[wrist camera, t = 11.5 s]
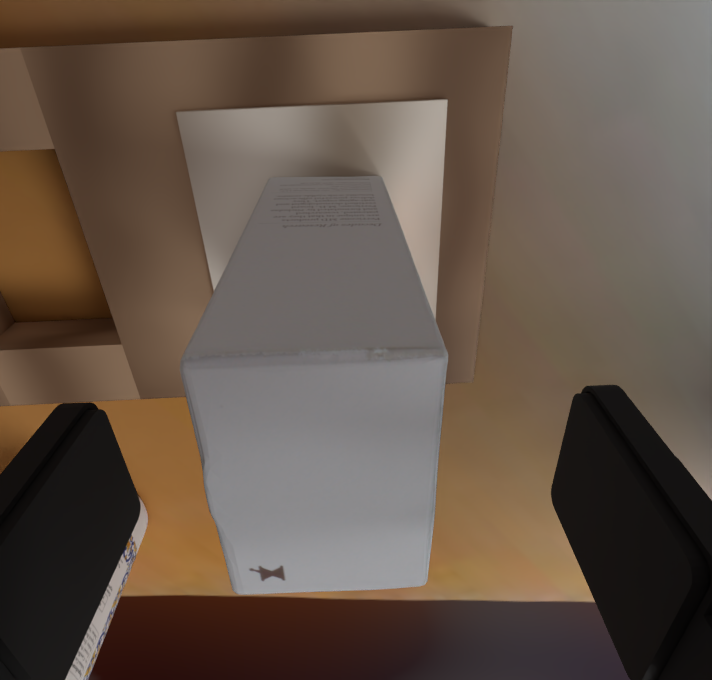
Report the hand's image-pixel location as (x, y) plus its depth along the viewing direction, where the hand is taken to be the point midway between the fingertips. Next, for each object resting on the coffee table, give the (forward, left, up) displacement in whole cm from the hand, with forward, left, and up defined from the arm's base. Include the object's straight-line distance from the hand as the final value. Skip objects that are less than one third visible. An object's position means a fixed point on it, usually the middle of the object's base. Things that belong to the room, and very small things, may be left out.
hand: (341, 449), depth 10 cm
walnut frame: (+6, 0, -13) cm, 15 cm away
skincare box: (0, 0, -11) cm, 11 cm away
